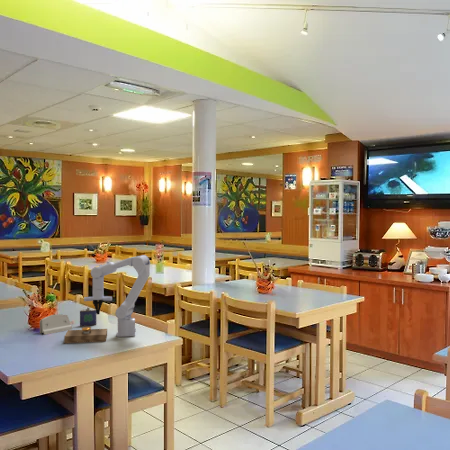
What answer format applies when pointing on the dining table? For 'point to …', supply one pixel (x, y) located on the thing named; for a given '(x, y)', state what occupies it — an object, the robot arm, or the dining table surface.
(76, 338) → the hitch block
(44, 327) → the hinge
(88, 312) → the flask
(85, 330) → the pin
